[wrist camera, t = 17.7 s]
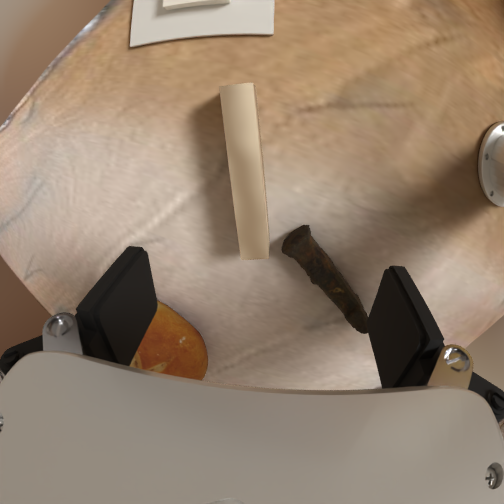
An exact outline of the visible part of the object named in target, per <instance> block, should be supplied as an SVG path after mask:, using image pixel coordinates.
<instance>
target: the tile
mask: <svg viewBox="0 0 504 504" xmlns="http://www.w3.org/2000/svg"><path fill="white" fill-rule="evenodd" d="M226 3H231V0H163V7H164V8H165V9H166V10H172V9H178V8H185V7H192V6H201V5H212V4H226Z"/></svg>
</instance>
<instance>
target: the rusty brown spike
mask: <svg viewBox="0 0 504 504" xmlns="http://www.w3.org/2000/svg"><path fill="white" fill-rule="evenodd" d="M282 253H284V254H286V255H288V256H289V257H292V258H293V259H295V260H296V261H297V262H298V263H299V264H300V266H301V267H302V268H303V269H304V270H305V271H306V273H307V275H308V276H310V279H311V282H312V283H313V284H317V285H318V286H319V287H320V288H321V289H322V290H323V291H324V292H325V294H326V295H327V296H328V297H329V298H330V299H331V300H332V301H333V302H334V303H335V304H336V306H337V307H338V308H339V309H340V310H341V311H342V313H343V314H344V315H345V318H346V320H347V321H348V322H349V323H350V324H351V325H352V327H353V328H355V329H356V330H357V331H359V332H360V333H363V334H366V333H368V330H367V320H368V316H367V313H366V312H365V311H364V309H363V306H362V304H361V301H360V299H359V297H358V296H357V295H356V294H355V293H354V292H353V290H352V289H351V288H350V286H349V284H348V283H347V282H346V280H345V279H344V277H343V276H342V275H341V273H340V272H339V271H338V270H337V269H336V267H335V266H334V264H333V262H332V261H331V260H330V258H329V257H328V255H327V254H326V253H325V252H324V251H323V249H322V248H320V247H319V245H318V244H317V243H316V241H315V240H314V239H313V237H312V236H311V232H310V228H309V225H303V226H301V227H300V228H298V229H296V230H295V231H293V232H292V233H291V234H289V236H288V237H287V238H286V239H285V240H284V242H283V246H282Z"/></svg>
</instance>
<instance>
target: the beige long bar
mask: <svg viewBox="0 0 504 504" xmlns="http://www.w3.org/2000/svg"><path fill="white" fill-rule="evenodd" d="M219 89H220V98H221V107H222V115H223V124H224V132H225V140H226V148H227V157H228V165H229V173H230V181H231V188H232V196H233V204H234V212H235V219H236V227H237V234H238V242H239V249H240V257H241V260H252V259H269V239H270V238H269V225H268V213H267V201H266V189H265V177H264V166H263V155H262V144H261V133H260V123H259V113H258V103H257V93H256V86H255V85H254V84H253V83H243V84H235V85H227V86H219Z"/></svg>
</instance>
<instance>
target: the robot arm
mask: <svg viewBox="0 0 504 504" xmlns="http://www.w3.org/2000/svg"><path fill="white" fill-rule="evenodd" d="M478 173H479V180H480V184H481V187H482V190H483V192H484V194H485V195H486V197H487V198H488V199H489V200H490V201H491V202H492V203H494V204H496V205H497V206H500V207H504V121H503V122H498V123H496V124H494V125H493V126H492V127H490V129H489V130H488V131H487V133H486V135H485V137H484V139H483V141H482V144H481V147H480V152H479V160H478ZM157 308H158V303H157V298H156V293H155V289H154V284H153V279H152V274H151V268H150V263H149V258H148V253H147V252H146V251H144V249H143V248H142V247H134V246H129V247H127V248H126V250H125V251H124V252H123V253H122V254H121V255H120V256H119V257H118V259H117V260H116V261H115V262H114V263H113V264H112V265H111V267H110V268H109V269H108V270H107V271H106V272H105V274H104V275H103V276H102V277H101V278H100V279H99V281H98V282H97V283H96V284H95V285H94V287H93V288H92V289H91V290H90V292H89V293H88V294H87V295H86V297H85V298H84V299H83V300H82V302H81V303H80V304H79V305H78V307H77V308H76V310H77V314H76V315H75V316H74V315H73V314H71V313H66V312H63V313H58V314H56V315H54V316H52V317H51V318H49V319H48V320H47V322H46V323H45V325H44V326H43V335H41V336H39V337H36V338H34V339H31V340H29V341H26V342H23V343H21V344H18V345H16V346H13V347H11V348H9V349H7V350H6V351H5V352H4V354H3V355H2V357H1V359H0V504H504V392H503V391H502V390H501V389H499V388H498V387H496V386H495V385H493V384H491V383H490V382H488V381H487V380H485V379H484V378H482V377H480V376H479V375H477V374H476V373H474V372H473V360H472V357H471V356H470V354H469V353H468V352H467V351H466V350H465V349H464V348H462V347H461V346H458V345H453V344H450V345H447V346H445V345H444V343H443V340H444V338H443V336H442V333H441V331H440V329H439V327H438V325H437V324H436V322H435V320H434V318H433V316H432V314H431V312H430V310H429V308H428V306H427V305H426V303H425V301H424V299H423V297H422V296H421V294H420V292H419V290H418V289H417V287H416V285H415V283H414V282H413V280H412V278H411V277H410V275H409V273H408V272H407V270H406V268H405V267H403V266H390V267H389V269H386V270H385V271H384V274H383V277H382V280H381V283H380V286H379V289H378V292H377V295H376V298H375V301H374V304H373V306H372V309H371V312H370V314H369V317H368V320H367V330H368V334H369V337H370V341H371V345H372V349H373V352H374V356H375V360H376V364H377V368H378V372H379V376H380V381H381V385H382V389H364V390H295V389H275V388H261V387H250V386H240V385H231V384H223V383H215V382H208V381H201V380H195V379H189V378H183V377H177V376H172V375H167V374H161V373H157V372H152V371H147V370H143V369H138V368H134V367H130V364H131V362H132V360H133V358H134V356H135V354H136V351H137V349H138V347H139V345H140V343H141V341H142V339H143V337H144V335H145V333H146V331H147V329H148V327H149V325H150V323H151V322H152V320H153V318H154V316H155V314H156V312H157Z"/></svg>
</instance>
